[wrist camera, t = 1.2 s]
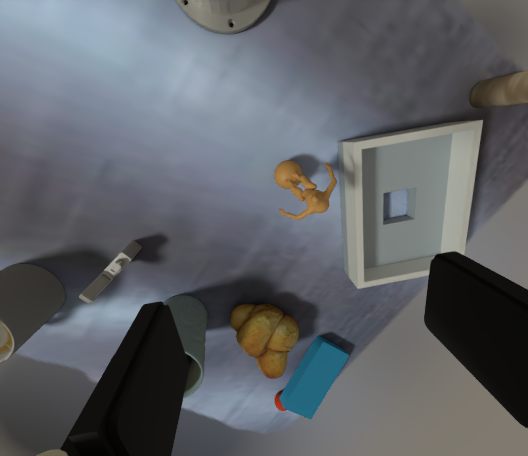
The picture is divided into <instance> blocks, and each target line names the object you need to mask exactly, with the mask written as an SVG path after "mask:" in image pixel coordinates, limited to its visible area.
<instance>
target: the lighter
mask: <svg viewBox="0 0 528 456" xmlns="http://www.w3.org/2000/svg"><path fill="white" fill-rule="evenodd" d="M141 249H142V246H141V245H139V244H138V243H137V242H136V241H132V242H131V243H130V244H129V245H128V246H127V247H126V248H125V249H124V250H123V251H122V252H121V253H120V254H119V255H118V256H117V257H116V258H115V259H114V260H113V261H112V262H111V263H110V265H109V266H108V267H107V268H106V269H105V270H104V271H105V272H102V273H101V274H100V275H99V276H98V277H97V278H96V279H95V280H94V281H93V282H92V283H91V284H90V285H89V286H88V287H87V288H86V289H85V290H84V291H83V292H82V293H81V294H80V295H79V298H80V299H82V300H83V301H85V302H87V303H88V304H90V303H91V302H93V301H94V300H95V298H96V297H97V296H98V295H99V294H100V293H101V292H102V291H103V290H104V289H105V287H106V286H107V285H108V284H109V283H110V282H111V281H112V280H113V277H116V276H117V275H118V274H119V273H120V272H121V270H122V269H123V268H124V267H125V266H126V265H127V264H128V263H129V262H130V261H131V260H132V259H133V258H134V257H135V256H136V254H137V253H138V252H139V251H140V250H141Z"/></svg>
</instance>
